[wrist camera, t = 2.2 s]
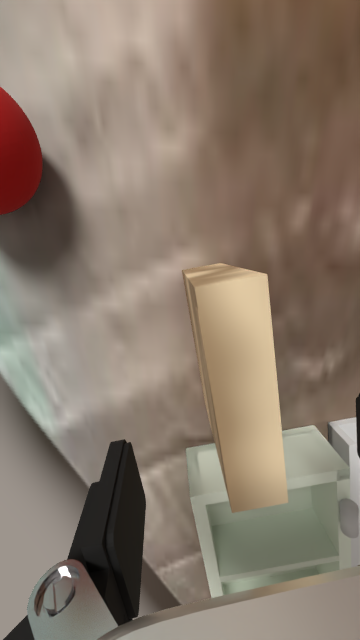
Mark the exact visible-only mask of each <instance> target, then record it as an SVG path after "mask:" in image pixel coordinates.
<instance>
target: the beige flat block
mask: <svg viewBox="0 0 360 640" xmlns="http://www.w3.org/2000/svg"><path fill="white" fill-rule="evenodd" d="M182 273H183V279H184V285H185V290H186V296H187V302H188V307H189V313H190V319H191V325H192V330H193V336H194V342H195V347H196V353H197V359H198V365H199V370H200V376H201V382H202V387H203V393H204V399H205V404H206V409H207V413H208V417H209V421H210V425H211V429H212V433H213V438H214V442H215V446H216V450H217V454H218V458H219V462H220V466H221V470H222V474H223V478H224V483H225V487H226V491H227V495H228V499H229V503H230V507H231V511H232V513H235V512H241V511H246V510H252V509H257V508H263V507H268V506H273V505H279V504H284V503H288V492H287V482H286V471H285V460H284V449H283V439H282V428H281V417H280V406H279V396H278V385H277V374H276V364H275V353H274V342H273V331H272V321H271V310H270V299H269V289H268V278H267V274H264V273H260V272H256V271H251V270H247V269H243V268H239V267H234V266H230V265H226V264H222V263H219V264H213V265H208V266H202V267H197V268H192V269H186V270H182Z"/></svg>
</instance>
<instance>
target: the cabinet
mask: <svg viewBox="0 0 360 640" xmlns="http://www.w3.org/2000/svg"><path fill="white" fill-rule="evenodd" d="M282 439H283V449H284V460H285V471H286V482H287V492H288V503H284V504H279V505H273V506H268V507H263V508H257V509H252V510H246V511H241V512H235V513H232V511H231V507H230V503H229V499H228V495H227V491H226V487H225V483H224V478H223V474H222V470H221V466H220V462H219V458H218V454H217V450H216V446H215V443H213V444H208V445H202V446H197V447H191V448H186V457H187V469H188V480H189V491H190V499H191V504H192V509H193V513H194V518H195V523H196V527H197V532H198V537H199V541H200V546H201V551H202V555H203V560H204V565H205V569H206V574H207V579H208V583H209V588H210V593H211V597H212V598H214V597H218V596H223V595H227V594H232V593H236V592H241V591H246V590H250V589H255V588H259V587H264V586H268V585H273V584H277V583H282V582H286V581H291V580H295V579H300V578H305V577H309V576H314V575H319V574H323V573H328V572H333V571H337V570H342V569H347V568H352V567H356V566H357V565H360V458H359V456H358V454H357V427H356V417H355V418H349V419H344V420H338V421H333V422H328V441H329V442H328V441H327V440H326V439H325V438H324V437H323V435H322V434H321V433H320V432H319V431H318V429H317V428H316V427H315V426H314V425H311V426H306V427H300V428H295V429H289V430H284V431H282Z"/></svg>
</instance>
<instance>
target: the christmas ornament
mask: <svg viewBox="0 0 360 640" xmlns="http://www.w3.org/2000/svg"><path fill="white" fill-rule="evenodd" d="M41 176H42V153H41V148H40V144H39V141H38V138H37V135H36V133H35V130H34V128H33V126H32V124H31V123H30V121H29V119H28V118H27V116H26V115H25V113H24V112H23V110H22V109H21V108H20V106H19V105H18V104H17V103H16V101H15V100H14V99H13V98H12V97H11V96H10V95H9V94H8V93H7V92H6V91H5V90H4V89H2V88H1V87H0V215H2V214H6V213H9V212H12V211H15V210H17V209H19V208H20V207H22V206H23V205H25V204H26V203H27V202H28V201H29V200H30V199H31V198H32V196H33V195H34V194H35V192H36V190H37V188H38V186H39V183H40V180H41Z"/></svg>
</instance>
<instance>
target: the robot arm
mask: <svg viewBox="0 0 360 640" xmlns="http://www.w3.org/2000/svg"><path fill="white" fill-rule="evenodd" d="M356 427H357V454H358V456H359V458H360V394H359V397H357V398H356ZM145 510H146V499H145V494H144V490H143V486H142V482H141V478H140V475H139V471H138V467H137V463H136V459H135V456H134V452H133V448H132V444H131V443H130V442H129V443H127V442H126V440H125V439H124V440H119V441H114V442H111V443H110V446H109V449H108V453H107V456H106V460H105V464H104V467H103V471H102V474H101V478H100V481H99V482H95V483H92V484H91V486H90V489H89V492H88V495H87V498H86V501H85V505H84V508H83V511H82V514H81V517H80V521H79V524H78V527H77V530H76V533H75V536H74V540H73V543H72V546H71V549H70V553H69V556H68V559H67V560H64V561H62V562H59V563H57V564H56V565H54V566H53V567H52V568H50V569H49V570H48V571H47V572H46V573H45V574H44V575H43V576H42V577H41V578H40V580H39V581H38V583H37V584H36V585H35V587H34V589H33V591H32V594H31V596H30V598H29V602H28V607H27V612H28V615H27V616H26V617H25V618H24V619H23V620H22V621H21V622H20V623H19V624H18V625H17V626H16V627H15V628H14V629H13V630H12V631H11V632H10V633H9V634H8V635H7V636H6V637H5V638H4V639H3V640H360V566H356V567H352V568H347V569H342V570H337V571H333V572H328V573H323V574H319V575H314V576H309V577H305V578H300V579H295V580H291V581H286V582H282V583H277V584H273V585H268V586H264V587H259V588H255V589H250V590H246V591H241V592H236V593H232V594H227V595H223V596H218V597H214V598H210V599H206V600H202V601H198V602H194V603H189V604H185V605H181V606H177V607H173V608H169V609H165V610H162V611H159V612H155V613H152V614H149V615H146V616H142V617H140V618H137V619H135V620H132V618H135V617H137V616H138V612H139V599H140V585H141V569H142V555H143V540H144V525H145Z"/></svg>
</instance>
